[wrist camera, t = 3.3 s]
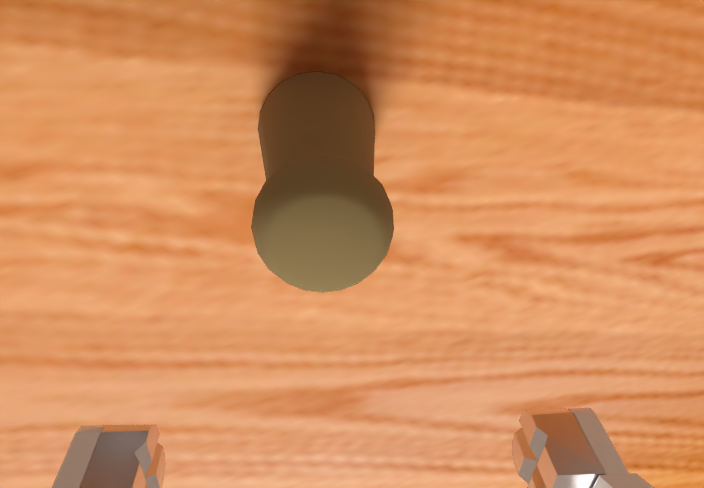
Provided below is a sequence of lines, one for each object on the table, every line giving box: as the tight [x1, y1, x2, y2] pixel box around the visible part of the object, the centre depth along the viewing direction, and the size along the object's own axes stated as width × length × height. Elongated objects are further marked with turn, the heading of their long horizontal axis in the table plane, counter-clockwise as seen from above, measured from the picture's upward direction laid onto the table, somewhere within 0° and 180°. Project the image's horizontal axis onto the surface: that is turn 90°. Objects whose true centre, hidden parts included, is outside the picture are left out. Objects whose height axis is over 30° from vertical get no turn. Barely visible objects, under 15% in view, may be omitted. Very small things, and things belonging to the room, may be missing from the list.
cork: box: [251, 71, 394, 292], centre depth 22 cm, size 6×6×11 cm
